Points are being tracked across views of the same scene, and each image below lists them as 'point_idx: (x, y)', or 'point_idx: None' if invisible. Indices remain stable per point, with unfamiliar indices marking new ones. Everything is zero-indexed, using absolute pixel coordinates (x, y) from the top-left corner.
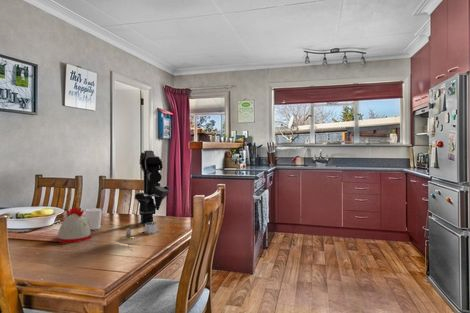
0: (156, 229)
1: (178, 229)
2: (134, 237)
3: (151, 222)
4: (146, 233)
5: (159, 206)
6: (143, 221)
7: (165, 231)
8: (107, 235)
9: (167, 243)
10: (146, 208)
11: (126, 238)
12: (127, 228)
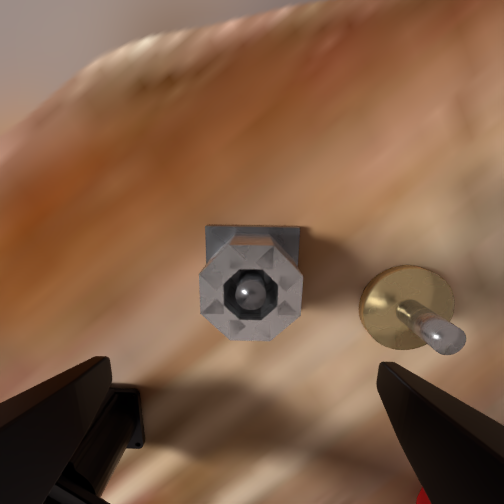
0: (242, 236)
1: (59, 183)
2: (403, 274)
3: (223, 313)
4: None
5: (38, 390)
6: (125, 438)
7: (153, 228)
8: (386, 430)
9: (382, 18)
10: (467, 414)
11: (439, 298)
12: (447, 350)
